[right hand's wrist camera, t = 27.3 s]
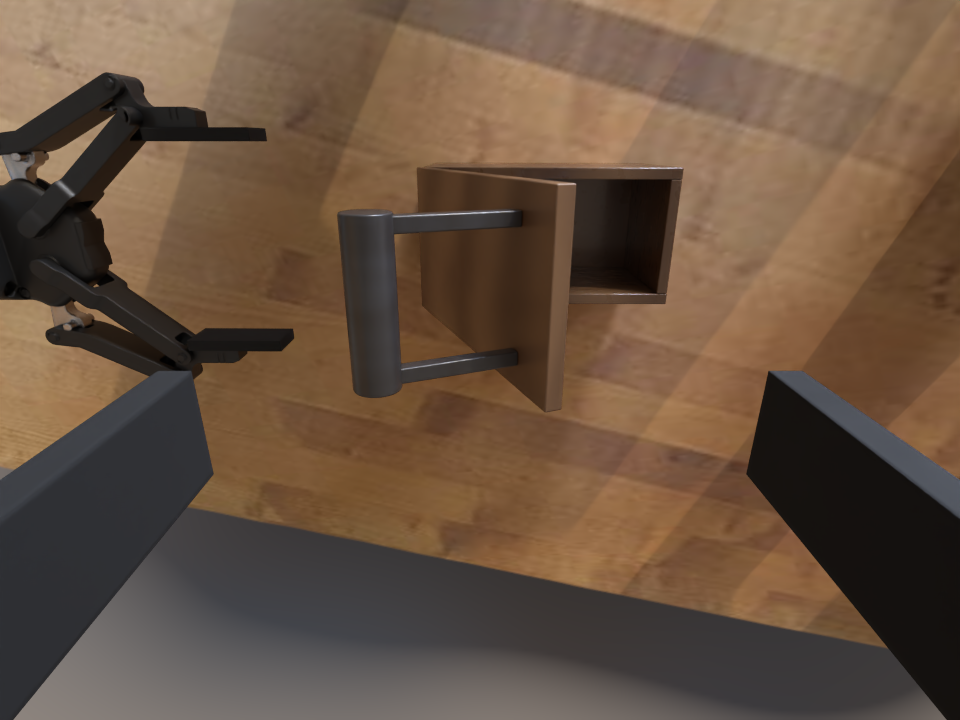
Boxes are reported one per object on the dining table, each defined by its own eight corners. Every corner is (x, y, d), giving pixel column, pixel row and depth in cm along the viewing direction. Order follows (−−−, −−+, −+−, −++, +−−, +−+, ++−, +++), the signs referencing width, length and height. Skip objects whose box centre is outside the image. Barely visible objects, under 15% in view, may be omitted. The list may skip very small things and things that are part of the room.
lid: (577, 183, 20) (348, 188, 17) (561, 409, 23) (370, 447, 20) (429, 167, 35) (296, 168, 32) (433, 304, 39) (313, 317, 36)
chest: (640, 163, 45) (684, 167, 36) (628, 273, 49) (665, 304, 39) (435, 162, 45) (423, 167, 36) (438, 272, 49) (428, 303, 39)
